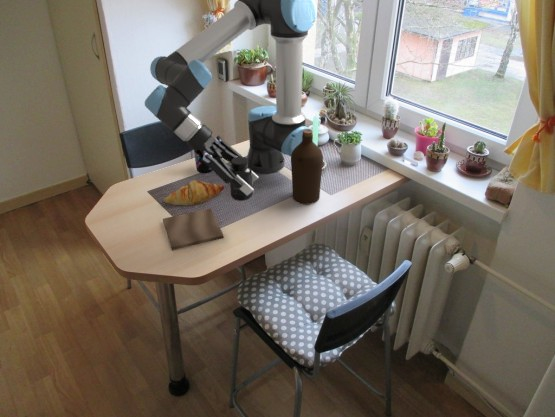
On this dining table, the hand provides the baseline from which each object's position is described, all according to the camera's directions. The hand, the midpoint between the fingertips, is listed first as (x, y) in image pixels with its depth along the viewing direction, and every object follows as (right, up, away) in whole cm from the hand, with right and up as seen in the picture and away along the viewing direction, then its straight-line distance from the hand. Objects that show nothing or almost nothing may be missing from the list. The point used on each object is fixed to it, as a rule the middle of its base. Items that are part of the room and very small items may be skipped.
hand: (252, 186), depth 136 cm
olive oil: (+17, -3, +24) cm, 29 cm away
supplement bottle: (-3, -3, +3) cm, 5 cm away
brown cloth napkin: (-20, -13, +8) cm, 25 cm away
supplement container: (-21, +8, +41) cm, 47 cm away
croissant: (-22, -3, +24) cm, 33 cm away
